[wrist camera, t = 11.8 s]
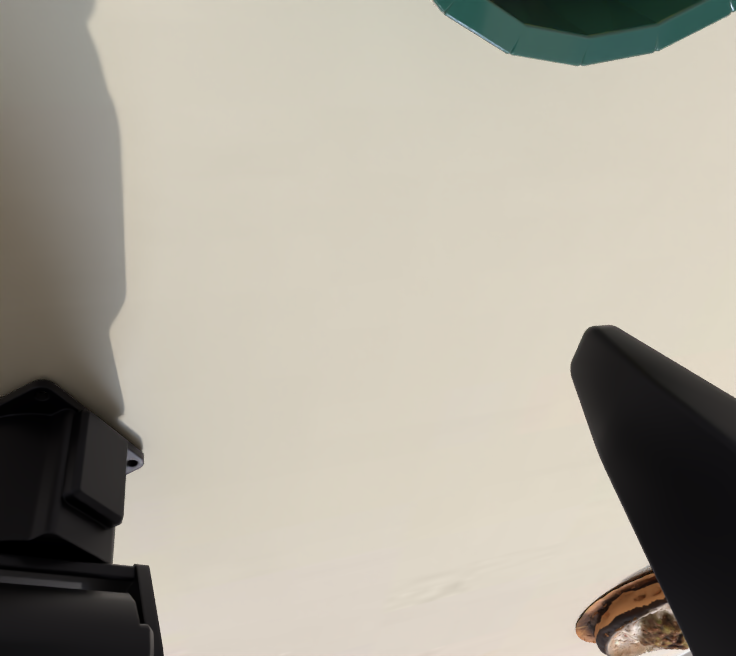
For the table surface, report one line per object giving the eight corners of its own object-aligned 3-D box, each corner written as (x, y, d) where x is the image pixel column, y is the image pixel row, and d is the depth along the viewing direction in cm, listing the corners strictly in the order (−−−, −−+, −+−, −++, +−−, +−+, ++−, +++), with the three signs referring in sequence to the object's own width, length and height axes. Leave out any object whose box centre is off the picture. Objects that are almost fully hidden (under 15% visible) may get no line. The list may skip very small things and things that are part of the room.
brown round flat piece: (549, 650, 60) (569, 698, 57) (627, 565, 51) (656, 617, 48) (675, 631, 64) (699, 675, 61) (767, 551, 55) (801, 597, 52)
